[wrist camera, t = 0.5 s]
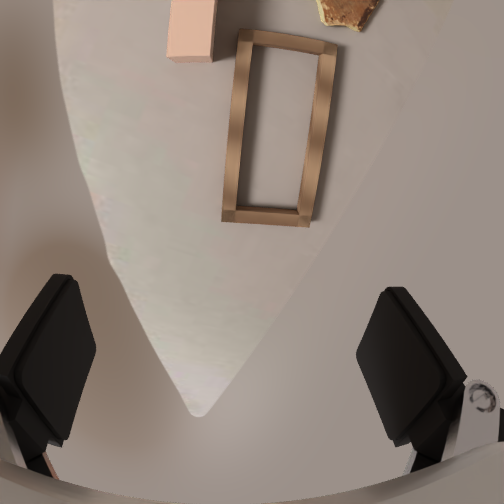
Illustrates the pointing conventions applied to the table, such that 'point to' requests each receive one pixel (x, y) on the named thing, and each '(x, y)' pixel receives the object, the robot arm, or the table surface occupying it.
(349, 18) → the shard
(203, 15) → the pink rectangular block
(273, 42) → the brown wooden frame
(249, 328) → the table surface
